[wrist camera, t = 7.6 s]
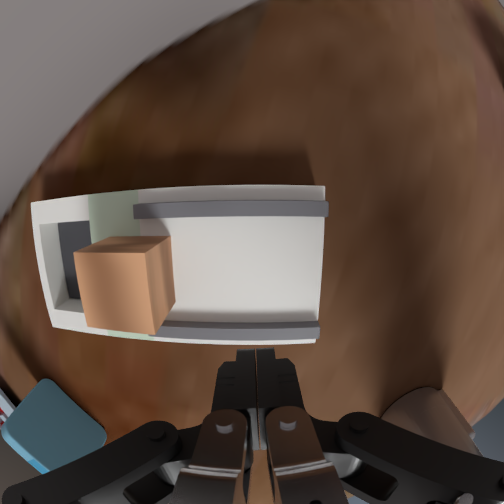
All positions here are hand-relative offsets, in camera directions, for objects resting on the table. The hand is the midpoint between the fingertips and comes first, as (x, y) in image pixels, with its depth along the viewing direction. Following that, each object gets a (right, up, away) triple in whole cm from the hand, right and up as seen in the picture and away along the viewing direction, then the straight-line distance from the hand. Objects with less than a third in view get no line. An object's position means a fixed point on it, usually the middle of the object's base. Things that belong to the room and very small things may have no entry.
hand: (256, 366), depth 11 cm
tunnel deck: (-7, +4, +12) cm, 14 cm away
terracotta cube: (-8, +3, +9) cm, 13 cm away
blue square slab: (-25, -17, +17) cm, 35 cm away
